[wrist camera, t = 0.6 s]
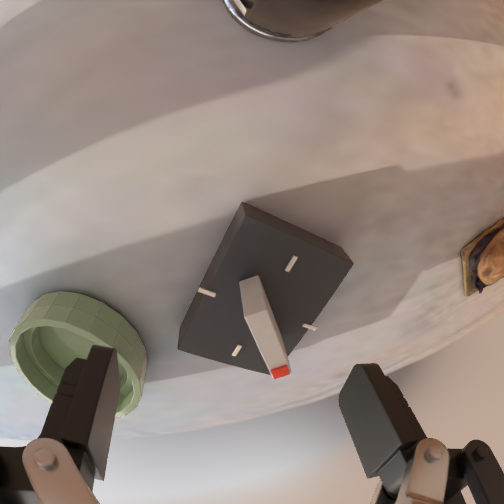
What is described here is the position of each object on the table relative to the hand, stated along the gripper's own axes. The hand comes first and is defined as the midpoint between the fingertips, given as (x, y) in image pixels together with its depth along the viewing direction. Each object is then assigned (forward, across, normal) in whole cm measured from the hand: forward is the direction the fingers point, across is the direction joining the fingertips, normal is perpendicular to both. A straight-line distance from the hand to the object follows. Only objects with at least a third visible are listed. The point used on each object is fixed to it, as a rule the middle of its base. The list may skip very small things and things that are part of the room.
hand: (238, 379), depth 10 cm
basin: (+18, +13, +17) cm, 28 cm away
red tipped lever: (+14, -4, +7) cm, 17 cm away
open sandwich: (+17, -33, -1) cm, 37 cm away
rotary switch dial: (+17, -4, +7) cm, 19 cm away
